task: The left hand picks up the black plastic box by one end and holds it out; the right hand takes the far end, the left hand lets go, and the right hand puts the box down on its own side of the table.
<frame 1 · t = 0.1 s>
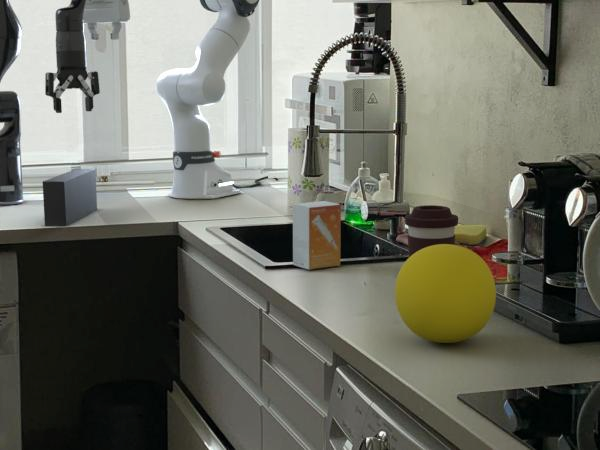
left hand: (73, 112, 273), 29 cm above the worktop, tool pointing down, fingers open, 8 cm apart
right hand: (104, 39, 294), 48 cm above the worktop, tool pointing down, fingers open, 8 cm apart
toy: (444, 341, 161), on the worktop
coffee cup: (430, 287, 198), on the worktop
box: (72, 217, 285), on the worktop
small box: (316, 266, 218), on the worktop
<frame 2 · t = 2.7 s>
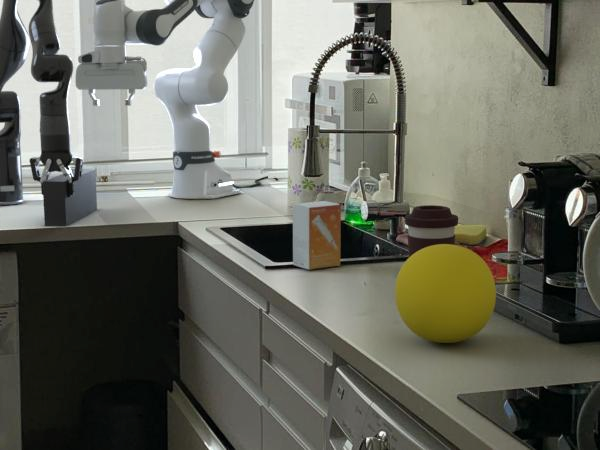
left hand: (58, 196, 273), 7 cm above the worktop, tool pointing down, fingers closed on box, 5 cm apart
right hand: (112, 105, 298), 29 cm above the worktop, tool pointing down, fingers open, 8 cm apart
box: (72, 217, 285), on the worktop, touching left hand
everything else where it was.
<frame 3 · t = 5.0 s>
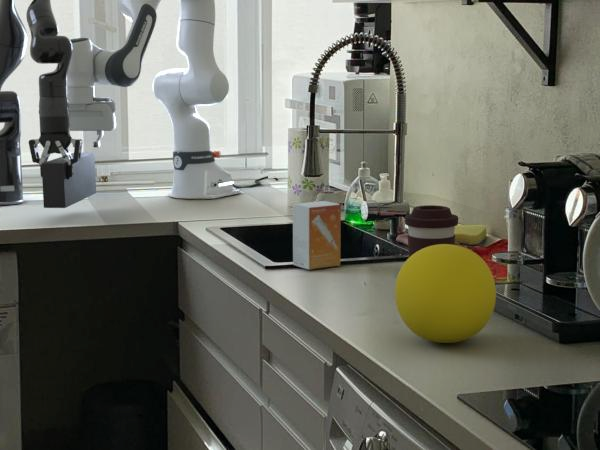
left hand: (57, 178, 272), 12 cm above the worktop, tool pointing down, fingers closed on box, 5 cm apart
right hand: (80, 147, 292), 18 cm above the worktop, tool pointing down, fingers open, 8 cm apart
box: (71, 200, 284), point 5 cm above the worktop, touching left hand
everything else where it was.
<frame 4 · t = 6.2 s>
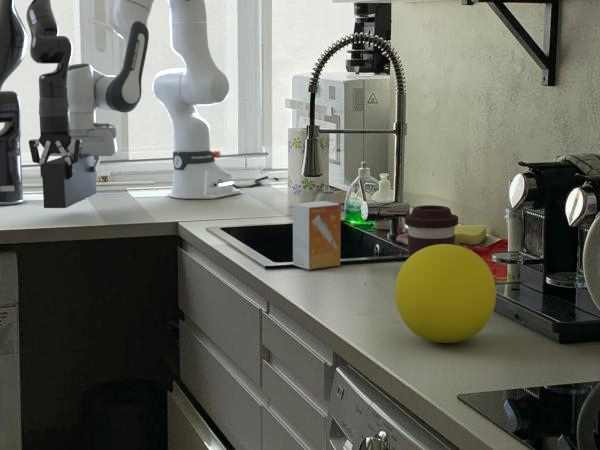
left hand: (57, 178, 272), 12 cm above the worktop, tool pointing down, fingers closed on box, 5 cm apart
right hand: (81, 172, 293), 11 cm above the worktop, tool pointing down, fingers closed on box, 6 cm apart
box: (71, 200, 284), point 5 cm above the worktop, touching left hand, right hand
everything else where it was.
when the left hand's fingers open (12 cm above the worktop, at t = 7.4 s): box stays where it is, held by the right hand.
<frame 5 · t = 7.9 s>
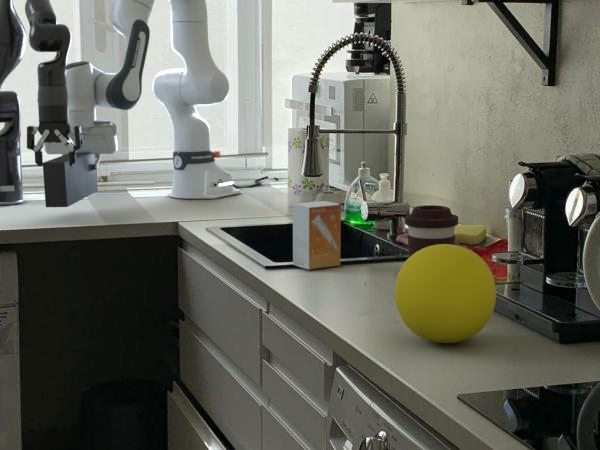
left hand: (56, 165, 271), 15 cm above the worktop, tool pointing down, fingers open, 8 cm apart
right hand: (82, 170, 293), 12 cm above the worktop, tool pointing down, fingers closed on box, 6 cm apart
box: (73, 198, 284), point 5 cm above the worktop, touching right hand
everything else where it was.
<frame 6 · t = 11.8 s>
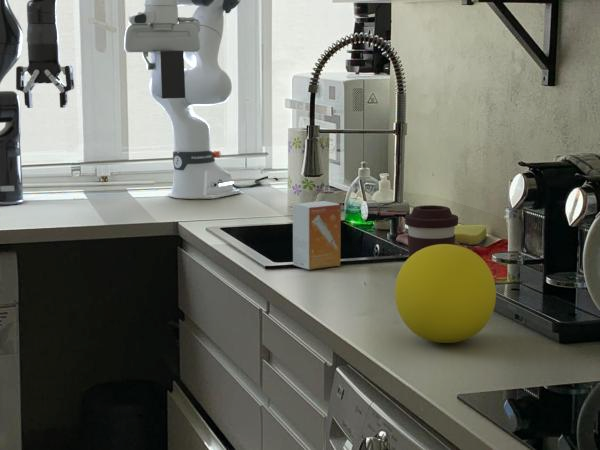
left hand: (46, 107, 263), 31 cm above the worktop, tool pointing down, fingers open, 8 cm apart
right hand: (163, 69, 282), 40 cm above the worktop, tool pointing down, fingers closed on box, 6 cm apart
box: (168, 95, 273), point 33 cm above the worktop, touching right hand
everything else where it was.
when the right hand's fingers open (7 cm above the worktop, at t = 17.9 s): box stays where it is, on the worktop.
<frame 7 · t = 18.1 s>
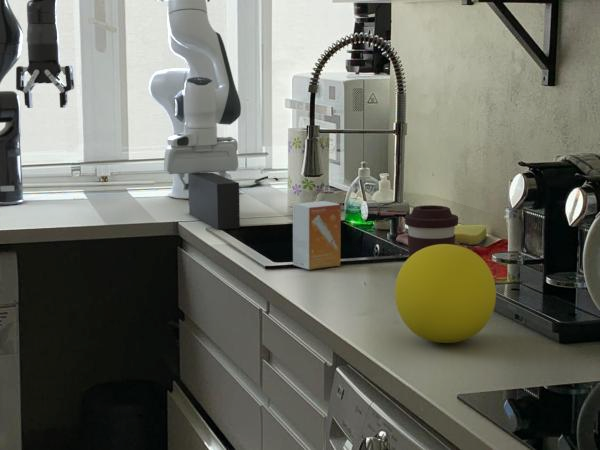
left hand: (46, 107, 263), 31 cm above the worktop, tool pointing down, fingers open, 8 cm apart
right hand: (202, 188, 285), 7 cm above the worktop, tool pointing down, fingers open, 8 cm apart
box: (213, 220, 277), on the worktop
everything else where it was.
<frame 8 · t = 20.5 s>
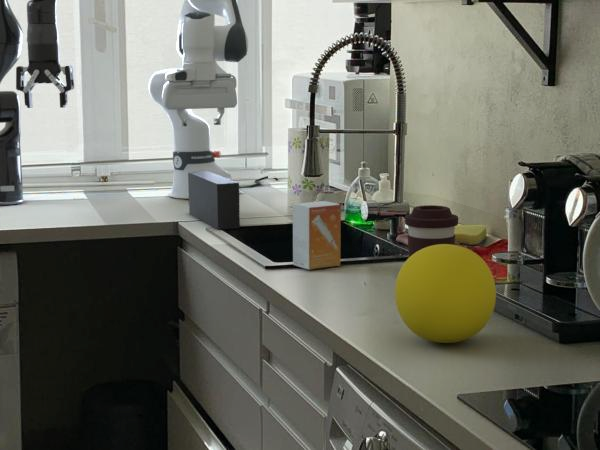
left hand: (46, 107, 263), 31 cm above the worktop, tool pointing down, fingers open, 8 cm apart
right hand: (200, 125, 282), 25 cm above the worktop, tool pointing down, fingers open, 8 cm apart
nothing on the worktop moved.
at the end: box inside the target area (10.2 cm from its centre), on the worktop; the left hand is holding nothing; the right hand is holding nothing; box at rest at the end (0.0 cm/s) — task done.
